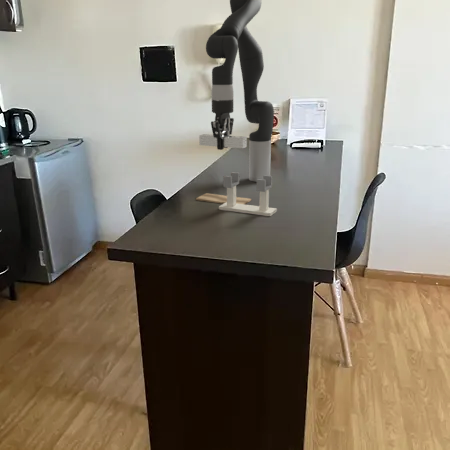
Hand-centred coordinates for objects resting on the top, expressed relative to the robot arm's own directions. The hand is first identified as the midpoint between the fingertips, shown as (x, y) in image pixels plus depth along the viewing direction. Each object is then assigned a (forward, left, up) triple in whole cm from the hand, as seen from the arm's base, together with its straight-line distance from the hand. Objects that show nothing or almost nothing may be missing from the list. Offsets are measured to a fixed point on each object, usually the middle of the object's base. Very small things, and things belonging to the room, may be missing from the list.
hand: (222, 148), depth 161 cm
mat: (0, 0, -19) cm, 19 cm away
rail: (0, 0, +1) cm, 1 cm away
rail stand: (+8, +13, -19) cm, 25 cm away
